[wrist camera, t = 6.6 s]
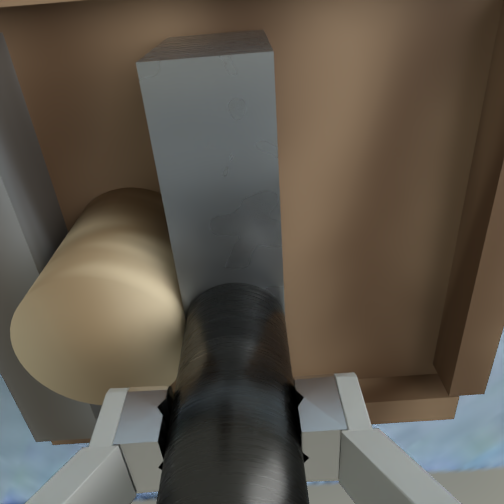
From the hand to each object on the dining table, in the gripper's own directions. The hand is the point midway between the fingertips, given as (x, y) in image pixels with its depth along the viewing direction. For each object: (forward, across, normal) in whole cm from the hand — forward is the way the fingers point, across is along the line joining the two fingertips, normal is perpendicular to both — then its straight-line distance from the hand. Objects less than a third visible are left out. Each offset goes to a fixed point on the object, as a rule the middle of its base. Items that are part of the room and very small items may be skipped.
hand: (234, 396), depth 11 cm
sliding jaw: (+8, 0, 0) cm, 8 cm away
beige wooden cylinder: (+8, +4, 0) cm, 9 cm away
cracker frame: (+9, 0, 0) cm, 9 cm away
